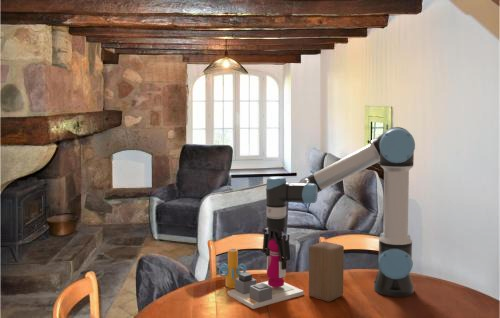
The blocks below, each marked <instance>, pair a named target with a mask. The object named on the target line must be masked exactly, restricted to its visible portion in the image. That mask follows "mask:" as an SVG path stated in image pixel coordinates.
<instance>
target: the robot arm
mask: <svg viewBox="0 0 500 318" xmlns="http://www.w3.org/2000/svg"><path fill="white" fill-rule="evenodd" d="M415 149H416V143H415V138H414V136H413V135H412V133H411V132H409V130H407V129H406V128H404V127H399V126H394V127H391V128H388V129H387V130H386V131H384V132H383V133H382V134H380V135H379V136H377V137H376V138H374V139H372V140H370V143H369V144H367V145H366V146H363V147H362V148H359V149H358V150H356V151H355V152H352V153H350V154H348V155H346V156H345V157H343V158H341V159H339V160H337V161H335V162H334V163H331V164H330V165H328V166H326V167H324V168H322V169H320V170H318V171H316V172H314V173H313V174H311V175H308V176H305V177H303V178H302V179H300V180H299V182H288V181H287V179H286V177H284V176H279V175H278V176H270V177H267V179H266V184H265V185H266V189H265V190H266V191H265V193H266V195H265V196H266V198H265V199H266V201H265V202H266V205H265V206H266V219H265V221H266V223H265V225H266V226H265V227H267V228H263V229H262V230H263V231H262V232H263V241H262V253H263V254H264V255H265V257H266V271H267V270H268V267H269V265H270V262H271V255H270V249H269V246H268V243H269V241H270V240H271V239H275V243H276V244H278V251H279V256H280V260H279V278H282V277H284V278H285V277H287V275H286V274H287V272H286V271H287V261H290V260H291V250H290V237H291V236H290V234H289V233H288V234H286V233H285V227H286V225H287V219H286V216H287V204H286V203H293V204H294V203H297V204H299V203H300V204H306V205H308V204H316V203H317V201H318V195H319V194H318V193H320V192H322V191H324V190H326V189H328V188H329V187H332V186H333V185H336V184H337V183H339V182H341V181H343V180H345V179H347V178H349V177H351V176H354V175H355V174H357V173H359V172H361V171H363V170H365V169H367V168H369V167H371V166H373V165H375V164H377V163H379V166H380V168H382V169H383V223H382V224H383V226H382V227H383V231H382V232H381V233H380V234H379V238H378V260H377V264H378V265H377V266H378V271H377V274H376V277H375V279H374V282H373V290H374V291H375V292H376V293H378V294H381V295H383V296H387V297H393V298H402V297H403V298H404V297H409V296H411V295H413V294H414V288H415V287H414V283H413V281H412V277H411V274H410V273H411V271H412V269H413V264H414V263H413V259H412V257H413V253H412V252H413V240H412V239H411V236H410V234H409V190H410V187H409V184H410V183H409V182H410V181H409V179H410V177H409V176H410V170H411V169H412V168H413V167H414V160H415V159H414V157H415V156H414V154H415ZM280 240H281V241H280Z"/></svg>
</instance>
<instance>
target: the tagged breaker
mask: <svg viewBox="0 0 500 318" xmlns="http://www.w3.org/2000/svg"><path fill="white" fill-rule="evenodd" d="M254 287H255V288H257V289H259V290H260V289H264V288H268V286H265V285H263V284H259V285H255V286H254Z"/></svg>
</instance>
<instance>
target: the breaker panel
mask: <svg viewBox="0 0 500 318" xmlns="http://www.w3.org/2000/svg"><path fill="white" fill-rule="evenodd" d="M259 284H263V285H265V286H268V288H264V289H260V290H259V289H257V288H255V287H254V286H255V285H259ZM304 293H305V290H303V289H301V288H299V287H297V286H293V285H292V284H289V283H287V282H285V281H284V285H283V286H281V287H272V286H269V285H268V280H267V281H266V280H265V281H262V282H259V283H257V279H255V278H253V277H252V280H250V281H246V282H243V281H241V280H239V278H235V288H233V289H230V290H227V296H229V297H231V298H233V299H234V300H235V301H237V302H239V303H241V304H242V305H246V306H247V307H248V308H251V309H252V310H254V309H258V308H263V307H265V306H268V305H272V304H276V303H279V302H282V301H287V300H290V299H292V298H296V297H300V296H303V295H305V294H304Z"/></svg>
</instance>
